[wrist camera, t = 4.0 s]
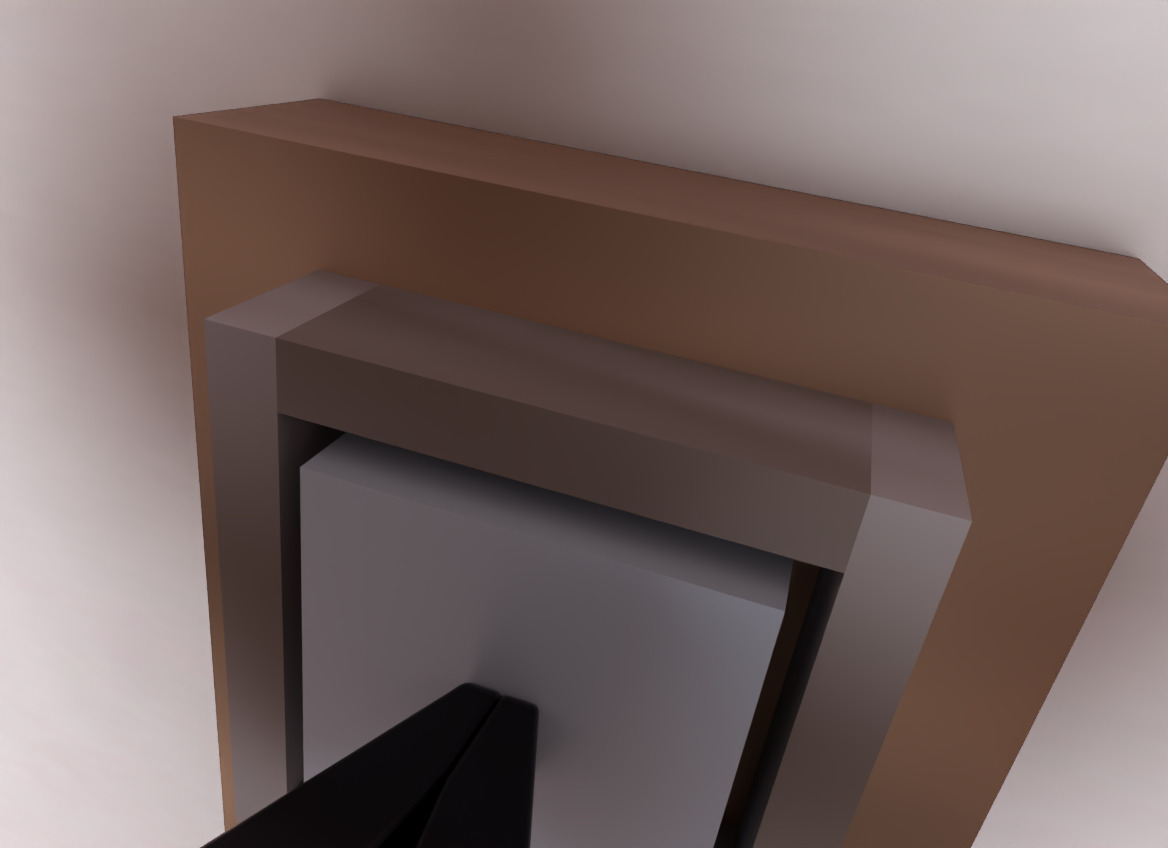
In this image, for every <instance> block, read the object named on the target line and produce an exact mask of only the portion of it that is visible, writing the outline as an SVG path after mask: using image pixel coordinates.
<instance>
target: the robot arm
mask: <svg viewBox="0 0 1168 848" xmlns="http://www.w3.org/2000/svg"><path fill="white" fill-rule="evenodd" d="M538 724H539V708H538V707H537V705H535V704H533V703H530V702H527V701H524V700H521V699H518V698H515V697H512V696H509V695H506V696H504V697H502V698H501V695H500V694H499V693H498V692H497V691H495V690H492V689H489V688H486V687H483V686H480V685H477V684H474V683H470V682H467V683H463V684H461V685H459V686H457V687H456V688H454V689H453V690H451V691H449V692H448V693H446V694H445V695H443V696H441V697H440V698H438V699H437V700H435V701H433V702H432V703H430V704H429V705H427V706H425V707H424V708H422V709H421V710H419V711H418V712H416V713H414V714H413V715H411V716H410V717H408V718H406V719H405V720H403V721H402V722H400V723H398V724H397V725H395V726H394V727H392V728H390V729H389V730H387V731H386V732H384V733H382V734H381V735H379V736H378V737H376V738H374V739H373V740H371V741H370V742H368V743H366V744H365V745H363V746H362V747H360V748H358V749H357V750H355V751H354V752H352V753H350V754H349V755H347V756H346V757H344V758H342V759H341V760H339V761H338V762H336V763H334V764H333V765H331V766H330V767H328V768H326V769H325V770H323V771H322V772H320V773H319V774H317V775H315V776H314V777H312V778H311V779H309V780H307V781H306V782H304V783H303V784H301V785H299V786H298V787H296V788H295V789H293V790H291V791H290V792H288V793H287V794H285V795H283V796H282V797H280V798H279V799H277V800H275V801H274V802H272V803H271V804H269V805H267V806H266V807H264V808H263V809H261V810H259V811H258V812H256V813H255V814H253V815H251V816H250V817H248V818H247V819H245V820H243V821H242V822H240V823H239V824H237V825H235V826H234V827H232V828H231V829H229V830H228V831H226V832H224V833H223V834H221V835H220V836H218V837H216V838H215V839H213V840H212V841H210V842H208V843H207V844H205V845H204V846H202V847H200V848H530V843H531V829H532V814H533V799H534V784H535V769H536V754H537V739H538Z"/></svg>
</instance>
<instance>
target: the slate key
mask: <svg viewBox="0 0 1168 848" xmlns="http://www.w3.org/2000/svg"><path fill="white" fill-rule="evenodd" d="M300 511H301V593H302V674H303V756H304V782H306V781H307V780H309V779H311V778H312V777H314V776H315V775H317V774H319V773H320V772H322V771H323V770H325V769H326V768H328V767H330V766H331V765H333V764H334V763H336V762H338V761H339V760H341V759H342V758H344V757H346V756H347V755H349V754H350V753H352V752H354V751H355V750H357V749H358V748H360V747H362V746H363V745H365V744H366V743H368V742H370V741H371V740H373V739H374V738H376V737H378V736H379V735H381V734H382V733H384V732H386V731H387V730H389V729H390V728H392V727H394V726H395V725H397V724H398V723H400V722H402V721H403V720H405V719H406V718H408V717H410V716H411V715H413V714H414V713H416V712H418V711H419V710H421V709H422V708H424V707H425V706H427V705H429V704H430V703H432V702H433V701H435V700H437V699H438V698H440V697H441V696H443V695H445V694H446V693H448V692H449V691H451V690H453V689H454V688H456V687H457V686H459V685H461V684H463V683H467V682H470V683H474V684H477V685H480V686H483V687H486V688H489V689H492V690H495V691H497V692H498V693H499V694H500V695H501V698H502V697H504V696H506V695H509V696H512V697H515V698H518V699H521V700H524V701H527V702H530V703H533V704H535V705H537V707H538V708H539V724H538V739H537V754H536V769H535V784H534V799H533V814H532V829H531V843H530V848H713V847H714V844H715V840H716V837H717V834H718V830H719V827H720V824H721V820H722V817H723V814H724V811H725V807H726V804H727V801H728V797H729V794H730V791H731V788H732V784H733V781H734V778H735V774H736V771H737V768H738V764H739V761H740V758H741V755H742V751H743V748H744V745H745V741H746V738H747V735H748V732H749V728H750V725H751V722H752V718H753V715H754V712H755V709H756V705H757V702H758V699H759V695H760V692H761V689H762V685H763V682H764V679H765V676H766V672H767V669H768V666H769V662H770V659H771V656H772V653H773V649H774V646H775V643H776V639H777V636H778V633H779V629H780V626H781V623H782V620H783V616H784V613H785V608H786V602H787V596H788V590H789V584H790V577H791V571H792V565H793V559H792V558H788V557H785V556H781V555H778V554H774V553H771V552H767V551H764V550H760V549H757V548H753V547H750V546H746V545H743V544H739V543H736V542H732V541H728V540H725V539H721V538H718V537H714V536H711V535H707V534H704V533H700V532H697V531H693V530H690V529H686V528H683V527H679V526H676V525H672V524H669V523H665V522H662V521H658V520H654V519H651V518H647V517H644V516H640V515H637V514H633V513H630V512H626V511H623V510H619V509H616V508H612V507H609V506H605V505H602V504H598V503H595V502H591V501H588V500H584V499H581V498H577V497H573V496H570V495H566V494H563V493H559V492H556V491H552V490H549V489H545V488H542V487H538V486H535V485H531V484H528V483H524V482H521V481H517V480H514V479H510V478H507V477H503V476H499V475H496V474H492V473H489V472H485V471H482V470H478V469H475V468H471V467H468V466H464V465H461V464H457V463H454V462H450V461H447V460H443V459H440V458H436V457H433V456H429V455H426V454H422V453H418V452H415V451H411V450H408V449H404V448H401V447H397V446H394V445H390V444H387V443H383V442H380V441H376V440H373V439H369V438H366V437H362V436H359V435H355V434H352V433H348V432H346V433H345V434H343V435H342V436H341V437H339V438H338V439H337V440H335V441H334V442H333V443H331V444H330V445H329V446H328V447H326V448H325V449H324V450H322V451H321V452H320V453H318V454H317V455H316V456H314V457H313V458H312V459H310V460H309V461H308V462H306V463H305V464H304V465H302V466H301V467H300Z"/></svg>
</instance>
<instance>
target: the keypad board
mask: <svg viewBox="0 0 1168 848" xmlns="http://www.w3.org/2000/svg"><path fill="white" fill-rule="evenodd" d="M173 125H174V139H175V153H176V166H177V180H178V194H179V208H180V221H181V235H182V249H183V262H184V276H185V290H186V304H187V317H188V331H189V345H190V358H191V372H192V386H193V400H194V413H195V427H196V441H197V454H198V468H199V482H200V496H201V509H202V523H203V537H204V550H205V564H206V578H207V591H208V605H209V619H210V633H211V646H212V660H213V674H214V687H215V701H216V715H217V729H218V742H219V756H220V770H221V783H222V797H223V811H224V825H225V832H226V831H228V830H229V829H231V828H232V827H234V826H235V825H237V824H239V823H240V822H242V821H243V820H245V819H247V818H248V817H250V816H251V815H253V814H255V813H256V812H258V811H259V810H261V809H263V808H264V807H266V806H267V805H269V804H271V803H272V802H274V801H275V800H277V799H279V798H280V797H282V796H283V795H285V794H287V793H288V792H290V791H291V790H293V789H295V788H296V787H298V786H299V785H301V784H303V783H304V756H303V674H302V593H301V511H300V467H301V466H302V465H304V464H305V463H306V462H308V461H309V460H310V459H312V458H313V457H314V456H316V455H317V454H318V453H320V452H321V451H322V450H324V449H325V448H326V447H328V446H329V445H330V444H331V443H333V442H334V441H335V440H337V439H338V438H339V437H341V436H342V435H343V434H345V433H346V432H348V433H352V434H355V435H359V436H362V437H366V438H369V439H373V440H376V441H380V442H383V443H387V444H390V445H394V446H397V447H401V448H404V449H408V450H411V451H415V452H418V453H422V454H426V455H429V456H433V457H436V458H440V459H443V460H447V461H450V462H454V463H457V464H461V465H464V466H468V467H471V468H475V469H478V470H482V471H485V472H489V473H492V474H496V475H499V476H503V477H507V478H510V479H514V480H517V481H521V482H524V483H528V484H531V485H535V486H538V487H542V488H545V489H549V490H552V491H556V492H559V493H563V494H566V495H570V496H573V497H577V498H581V499H584V500H588V501H591V502H595V503H598V504H602V505H605V506H609V507H612V508H616V509H619V510H623V511H626V512H630V513H633V514H637V515H640V516H644V517H647V518H651V519H654V520H658V521H662V522H665V523H669V524H672V525H676V526H679V527H683V528H686V529H690V530H693V531H697V532H700V533H704V534H707V535H711V536H714V537H718V538H721V539H725V540H728V541H732V542H736V543H739V544H743V545H746V546H750V547H753V548H757V549H760V550H764V551H767V552H771V553H774V554H778V555H781V556H785V557H788V558H792V559H793V565H792V571H791V577H790V584H789V590H788V596H787V602H786V608H785V613H784V616H783V620H782V623H781V626H780V629H779V633H778V636H777V639H776V643H775V646H774V649H773V653H772V656H771V659H770V662H769V666H768V669H767V672H766V676H765V679H764V682H763V685H762V689H761V692H760V695H759V699H758V702H757V705H756V709H755V712H754V715H753V718H752V722H751V725H750V728H749V732H748V735H747V738H746V741H745V745H744V748H743V751H742V755H741V758H740V761H739V764H738V768H737V771H736V774H735V778H734V781H733V784H732V788H731V791H730V794H729V797H728V801H727V804H726V807H725V811H724V814H723V817H722V820H721V824H720V827H719V830H718V834H717V837H716V840H715V844H714V847H713V848H971V846H972V844H973V842H974V840H975V838H976V836H977V834H978V832H979V830H980V828H981V826H982V824H983V822H984V820H985V818H986V816H987V814H988V812H989V810H990V808H991V806H992V804H993V802H994V800H995V798H996V796H997V795H998V793H999V791H1000V789H1001V787H1002V785H1003V783H1004V781H1005V779H1006V777H1007V775H1008V773H1009V771H1010V769H1011V767H1012V765H1013V763H1014V761H1015V759H1016V757H1017V755H1018V753H1019V751H1020V749H1021V747H1022V745H1023V743H1024V741H1025V739H1026V737H1027V735H1028V733H1029V731H1030V729H1031V727H1032V725H1033V723H1034V721H1035V719H1036V717H1037V715H1038V713H1039V711H1040V709H1041V707H1042V705H1043V703H1044V701H1045V699H1046V697H1047V695H1048V693H1049V691H1050V689H1051V687H1052V685H1053V683H1054V681H1055V679H1056V677H1057V675H1058V673H1059V671H1060V669H1061V667H1062V665H1063V663H1064V661H1065V659H1066V657H1067V655H1068V653H1069V651H1070V649H1071V647H1072V645H1073V643H1074V641H1075V639H1076V637H1077V635H1078V633H1079V631H1080V629H1081V627H1082V625H1083V623H1084V621H1085V619H1086V617H1087V615H1088V614H1089V612H1090V610H1091V608H1092V606H1093V604H1094V602H1095V600H1096V598H1097V596H1098V594H1099V592H1100V590H1101V588H1102V586H1103V584H1104V582H1105V580H1106V578H1107V576H1108V574H1109V572H1110V570H1111V568H1112V566H1113V564H1114V562H1115V560H1116V558H1117V556H1118V554H1119V552H1120V550H1121V548H1122V546H1123V544H1124V542H1125V540H1126V538H1127V536H1128V534H1129V532H1130V530H1131V528H1132V526H1133V524H1134V522H1135V520H1136V518H1137V516H1138V514H1139V512H1140V510H1141V508H1142V506H1143V504H1144V502H1145V500H1146V498H1147V496H1148V494H1149V492H1150V490H1151V488H1152V486H1153V484H1154V482H1155V480H1156V478H1157V476H1158V474H1159V472H1160V470H1161V468H1162V466H1163V464H1164V462H1165V460H1166V458H1167V456H1168V284H1167V283H1166V282H1165V281H1164V280H1163V279H1162V278H1161V277H1159V276H1158V275H1157V274H1156V273H1155V272H1154V271H1153V270H1151V269H1150V268H1149V267H1148V266H1147V265H1146V264H1145V263H1143V262H1142V261H1141V260H1140V259H1138V258H1133V257H1128V256H1122V255H1117V254H1112V253H1107V252H1102V251H1097V250H1092V249H1087V248H1081V247H1076V246H1071V245H1066V244H1061V243H1056V242H1051V241H1046V240H1041V239H1035V238H1030V237H1025V236H1020V235H1015V234H1010V233H1005V232H1000V231H994V230H989V229H984V228H979V227H974V226H969V225H964V224H959V223H954V222H948V221H943V220H938V219H933V218H928V217H923V216H918V215H913V214H907V213H902V212H897V211H892V210H887V209H882V208H877V207H872V206H867V205H861V204H856V203H851V202H846V201H841V200H836V199H831V198H826V197H820V196H815V195H810V194H805V193H800V192H795V191H790V190H785V189H780V188H774V187H769V186H764V185H759V184H754V183H749V182H744V181H739V180H733V179H728V178H723V177H718V176H713V175H708V174H703V173H698V172H693V171H687V170H682V169H677V168H672V167H667V166H662V165H657V164H652V163H646V162H641V161H636V160H631V159H626V158H621V157H616V156H611V155H606V154H600V153H595V152H590V151H585V150H580V149H575V148H570V147H565V146H560V145H554V144H549V143H544V142H539V141H534V140H529V139H524V138H519V137H513V136H508V135H503V134H498V133H493V132H488V131H483V130H478V129H473V128H467V127H462V126H457V125H452V124H447V123H442V122H437V121H432V120H426V119H421V118H416V117H411V116H406V115H401V114H396V113H391V112H386V111H380V110H375V109H370V108H365V107H360V106H355V105H350V104H345V103H339V102H334V101H329V100H324V99H312V100H304V101H296V102H288V103H280V104H271V105H263V106H255V107H247V108H239V109H231V110H223V111H214V112H206V113H198V114H190V115H182V116H174V117H173Z"/></svg>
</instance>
